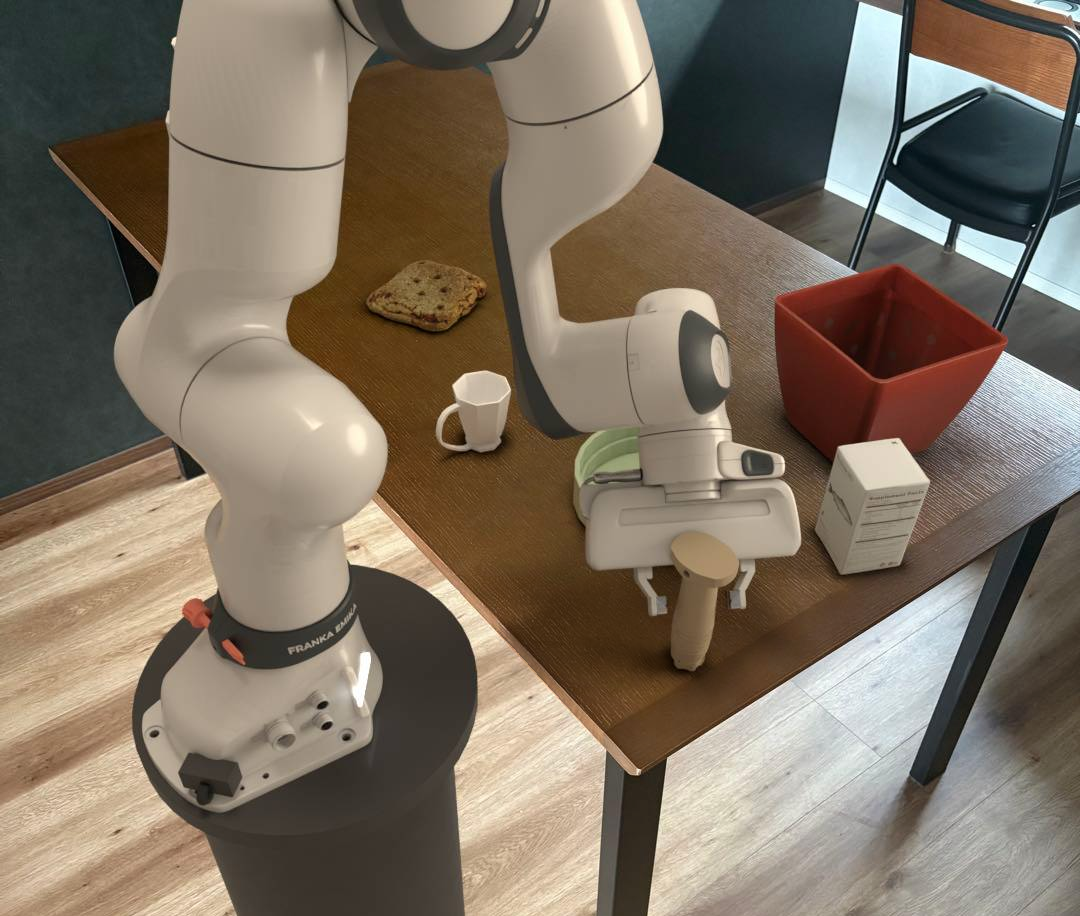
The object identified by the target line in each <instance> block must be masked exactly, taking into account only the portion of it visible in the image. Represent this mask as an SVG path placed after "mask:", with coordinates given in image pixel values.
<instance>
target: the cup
mask: <svg viewBox="0 0 1080 916" xmlns="http://www.w3.org/2000/svg"><path fill="white" fill-rule="evenodd" d="M451 387H452V391H453V395H454V399H455V403H453V404H451V405H449V406H447V407H446V408H445V409H444V410H442V412H441V413H440V415H439V417H438V419H437V422H436V426H435V437H436V440H437V442H438V443H439V444H440V445H442V447H444V448H446V449H448V450H451V451H456V452H467V451H469V450H473V451H476V452H479V453H484V452H490V451H495V449H496V448H497V447H498V446H499V445H500V444H502V438H501V436H502V435H503V432H504V429H505V426H506V422H507V417H508V411H509V405H510V401H511V394H512V389H511V386H510V383H509V381H508V379H507V377H506V376H504V375H501V374H498V373H495V372H493V371H489V370H486V369H485V370H479V371H473V372H466V373H463V374H462V375H461V376H460V377H459V378H458V379H457V380H456V381H455V382H454V383H453V384H452V385H451ZM456 412H457V415H458V418H459V421H460V423H461V426H462V429H463V432H464V435H465V436H464V439H465V442H466V443H465V444H463V445H455V444H449V443H446V442H444V441H443V438H442V434H443V427H444V423H445V422H446V420H447V418H448V416H450V415H451V414H452V413H456Z"/></svg>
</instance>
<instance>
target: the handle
mask: <svg viewBox="0 0 1080 916" xmlns="http://www.w3.org/2000/svg"><path fill="white" fill-rule="evenodd" d="M670 558H671V560H672V562H673V564H674V565H673V566H674V567H675V569H676V570H677V572H678V574H679V575H680V576H681V577H682V580H681V584H680V588H679V592H678V596H677V600H676V605H675V610H674V613H673V616H672V623H671V631H670V657H671V658H672V659H673V664H674V666H675V668H676V669H679V670H687V671H689V672H694V671H696V669H697V668H698V667H699V666H702V665H703V663H704V661H705V659H706V654H707V652H708V649H709V646H710V645H711V644H710V643H711V642H712V641H711V640H712V637H713V632H714V629H715V628H714V627H715V621H716V620H715V618H716V611H717V610H716V608H717V600H718V599H717V598H718V591H719V588H722V587H725V586H727V585H729V584H730V583H732V582H733V581H734V579H735V578H736V577H737V574H738V573H739V572H738V568H739V560H738V558H737V557H736V555H735V553H734V552H733V551H732V549H731V548H730V547H728V546H727V545H726V544H724V543H723V542H721V541H720V540H718V539H717V538H715V537H713V536H710V535H707V534H704V533H700V532H696V531H690V532H686V533H684V534H681V535H680V536H678V537H677V538H676V539H675V540H674V541H673V542H672V545H671V550H670Z"/></svg>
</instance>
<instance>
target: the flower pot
mask: <svg viewBox="0 0 1080 916" xmlns="http://www.w3.org/2000/svg"><path fill="white" fill-rule="evenodd" d="M1008 343H1009V339H1008V337H1007V336H1006V335H1004V334H1003V333H1002V332H1000V331H999V330H998V329H996V328H995V327H994V326H992V325H991V324H989V323H988V322H986V321H985V320H983V318H980V317H979V316H978V315H977V314H975V313H973V312H972V311H971V310H969V309H967V307H965V306H963V305H962V304H960V303H959V302H957V301H956V300H954V299H953V298H952V297H950V296H948V295H947V294H945V293H944V292H943V291H941V290H940V289H938V288H936V287H935V286H934V285H932V284H931V283H930V282H928V281H926V280H925V279H924V278H922V277H920V276H919V275H918V274H916V273H915V272H913V271H912V270H911V269H909V268H908V267H906V266H904V265H902V264H900V263H899V264H898V263H892V264H887V265H883V266H880V267H877V268H873V269H869V270H865V271H862V272H858V273H855V274H852V275H848V276H844V277H840V278H837V279H834V280H830V281H826V282H823V283H819V284H815V285H812V286H808V287H804V288H801V289H800V288H799V289H797V290H793V291H789V292H787V293H782V294H779V295H777V296H776V297H775V299H774V347H775V348H774V349H775V358H776V359H775V360H776V361H775V362H776V367H777V375H778V381H779V382H778V383H779V388H780V393H781V398H782V401H783V402H782V403H783V408H784V411H785V415H786V419H787V421H788V423H789V424H791V426H793V427H794V428H795V429H796V430H797V431H798V432H799V433H800V434H801V435H802V436H803V437H805V438H806V439H807V441H809V442H810V443H811V444H812V445H813V446H814V447H815V448H817V450H819V451H820V452H821V453H822V454H823V455H824V456H825V457H826V458H827V459H828V460H829V461H831V463H832V464H833V463H834V459H835V456H836V452H837V448H838V447H839V446H843V445H850V444H857V443H864V442H871V441H878V440H885V439H894V438H900V440H901V441H902V443H903V444H904V446H905V447H906V448H907V450H908V451H909V453H910V454H911V455H912V456H913V455H915V454H918V453H920V452H924V451H925V450H927V449H928V448H929V447H930V446H931V445H932V444H934V442H935V441H936V440H937V439H938V438H939V437H940V436H941V435H942V434H943V433H944V431H946V430H947V428H948V427H949V426H950V425H951V424H952V423H953V422H954V420H955V419H956V418H957V417H958V415H960V413H961V412H962V411H963V410H964V408H965V407H966V406H967V404H968V403H969V402H970V400H971V399H972V398H973V397H974V396H975V394H976V393H977V392H978V390H979V389H980V387H981V386H982V384H983V383H984V382H985V380H986V379H987V377H988V376H989V374H991V371H992V370H993V368H994V367H995V365H996V364H997V362H998V361H999V359H1000V358H1001V356H1002V354H1003V352H1004V350H1005V349H1006V346H1007V345H1008Z"/></svg>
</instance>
